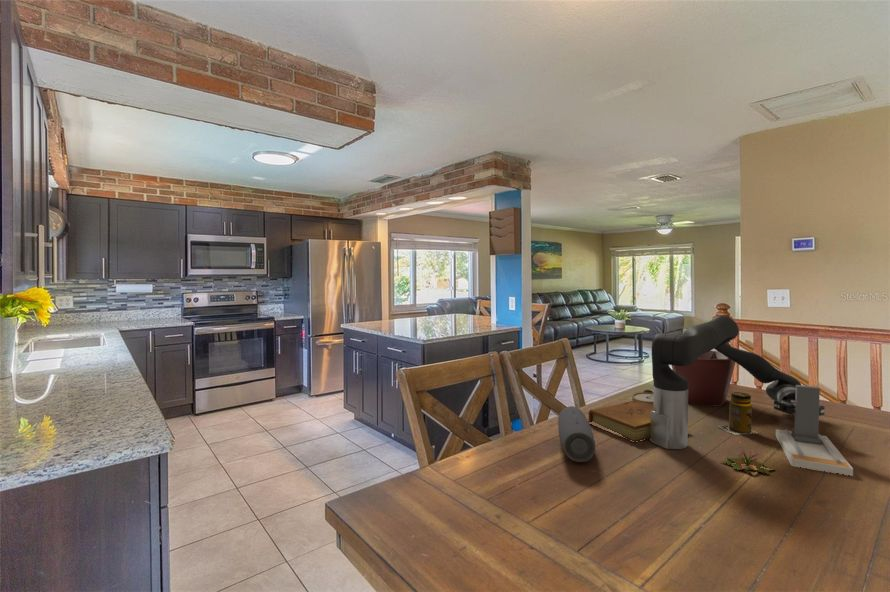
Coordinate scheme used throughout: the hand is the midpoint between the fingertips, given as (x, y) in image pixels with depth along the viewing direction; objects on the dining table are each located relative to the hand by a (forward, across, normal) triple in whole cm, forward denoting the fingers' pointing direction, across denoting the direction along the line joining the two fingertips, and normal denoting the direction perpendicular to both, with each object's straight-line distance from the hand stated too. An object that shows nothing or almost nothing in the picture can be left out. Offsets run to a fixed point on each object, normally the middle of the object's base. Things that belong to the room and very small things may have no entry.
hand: (805, 415), depth 124 cm
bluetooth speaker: (+34, -58, +9) cm, 68 cm away
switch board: (+6, 0, +9) cm, 11 cm away
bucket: (-38, -25, +9) cm, 47 cm away
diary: (+6, -45, +10) cm, 47 cm away
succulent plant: (+24, -16, +10) cm, 31 cm away
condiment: (-6, -16, +9) cm, 19 cm away
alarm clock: (-23, -43, +9) cm, 50 cm away
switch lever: (+1, 0, +7) cm, 7 cm away
